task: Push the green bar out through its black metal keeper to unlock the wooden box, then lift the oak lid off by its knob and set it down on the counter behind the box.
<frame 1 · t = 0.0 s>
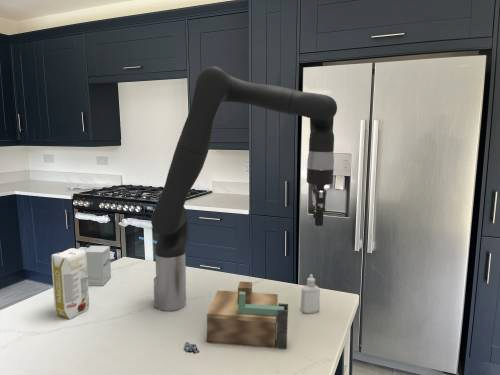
hand: (317, 221, 108), 29 cm above the countertop, tool pointing down, fingers open, 8 cm apart
supplement box: (97, 282, 133), on the countertop
lid: (244, 307, 101), point 7 cm above the countertop, touching wooden box
juice carton: (72, 312, 111), on the countertop
green bar: (261, 303, 95), point 11 cm above the countertop, slide at 0.0 cm
eye dropper bottle: (309, 311, 114), on the countertop
blueberries: (193, 350, 94), on the countertop
wooden box: (244, 330, 103), on the countertop
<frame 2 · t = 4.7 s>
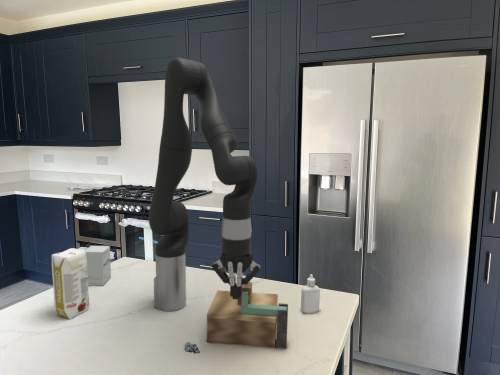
hand: (235, 298, 96), 12 cm above the countertop, tool pointing down, fingers closed
green bar: (263, 303, 95), point 11 cm above the countertop, slide at 0.7 cm, touching gripper
everything else where it was.
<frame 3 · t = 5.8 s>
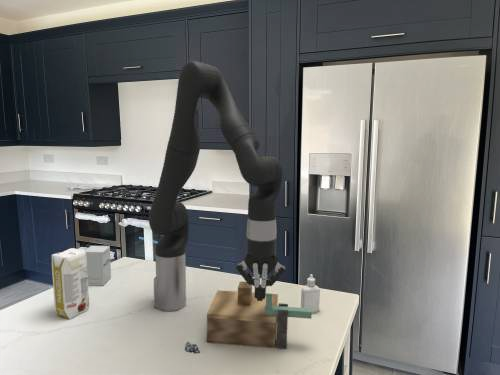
hand: (260, 299, 95), 12 cm above the countertop, tool pointing down, fingers closed
green bar: (288, 305, 95), point 11 cm above the countertop, slide at 7.1 cm, touching gripper
everything else where it was.
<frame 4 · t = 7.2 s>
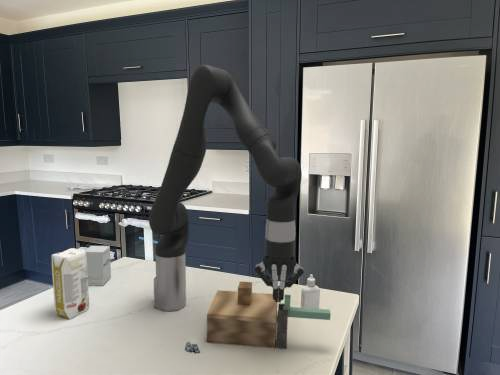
hand: (278, 300, 95), 12 cm above the countertop, tool pointing down, fingers closed
green bar: (306, 306, 94), point 11 cm above the countertop, slide at 11.8 cm, touching gripper
everything else where it was.
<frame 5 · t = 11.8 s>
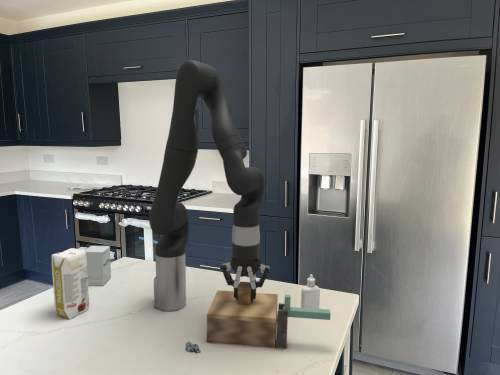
hand: (245, 299, 102), 9 cm above the countertop, tool pointing down, fingers closed on lid, 3 cm apart
lid: (244, 307, 101), point 7 cm above the countertop, touching gripper, wooden box
green bar: (306, 306, 94), point 11 cm above the countertop, slide at 11.8 cm
everything else where it was.
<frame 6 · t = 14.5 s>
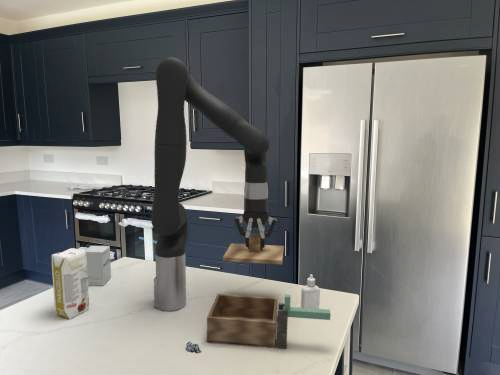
hand: (255, 248, 118), 18 cm above the countertop, tool pointing down, fingers closed on lid, 3 cm apart
lid: (254, 254, 117), point 16 cm above the countertop, touching gripper
everything else where it was.
when the fingers open (3 cm above the countertop, at t = 17.7 s): lid drops 2 cm, on the countertop.
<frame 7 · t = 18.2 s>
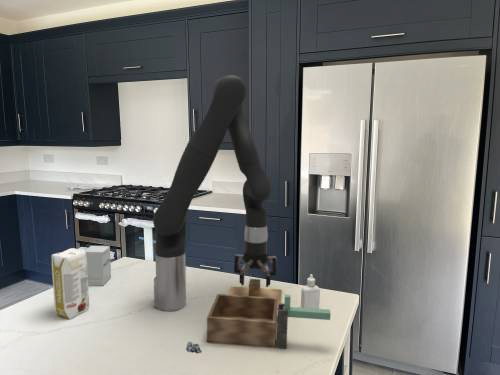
hand: (255, 285, 122), 4 cm above the countertop, tool pointing down, fingers open, 8 cm apart
lid: (254, 300, 122), on the countertop
everything else where it was.
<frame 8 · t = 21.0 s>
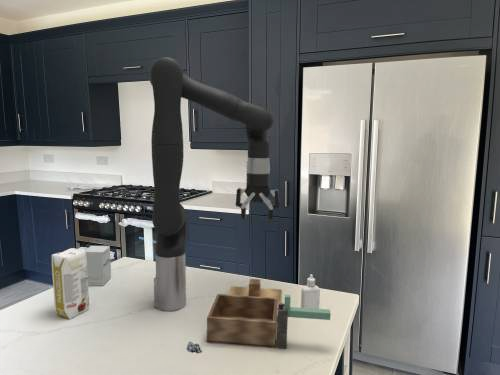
hand: (257, 219, 122), 26 cm above the countertop, tool pointing down, fingers open, 8 cm apart
nothing on the countertop moved.
at the end: green bar slide at 11.8 cm; lid inside the target area (0.1 cm from its centre), on the countertop; lid tilted 0° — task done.
